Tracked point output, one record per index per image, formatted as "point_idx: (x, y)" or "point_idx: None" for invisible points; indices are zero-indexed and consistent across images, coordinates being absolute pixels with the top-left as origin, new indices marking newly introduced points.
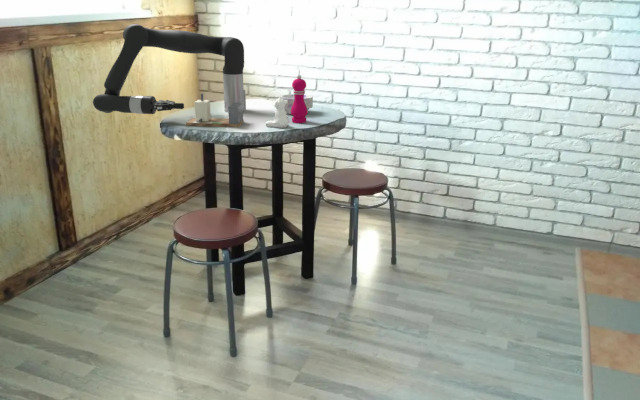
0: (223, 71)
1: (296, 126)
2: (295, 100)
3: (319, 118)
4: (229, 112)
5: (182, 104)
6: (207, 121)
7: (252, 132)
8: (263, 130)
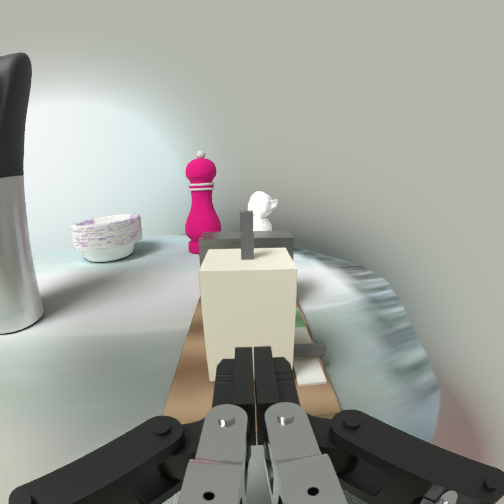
0: None
1: None
2: (209, 203)
3: (173, 242)
4: (292, 257)
5: (269, 350)
6: None
7: (337, 273)
8: (307, 267)
